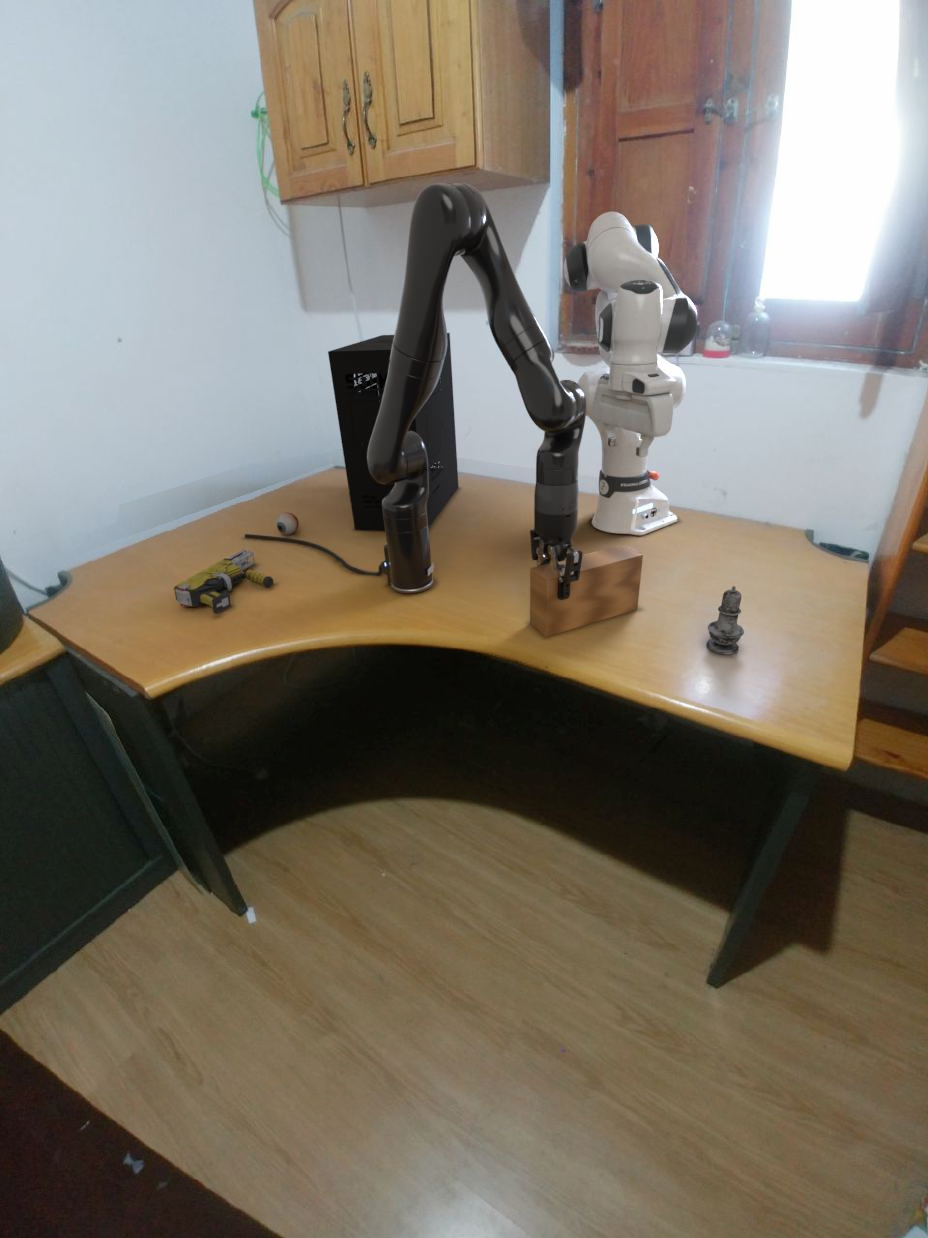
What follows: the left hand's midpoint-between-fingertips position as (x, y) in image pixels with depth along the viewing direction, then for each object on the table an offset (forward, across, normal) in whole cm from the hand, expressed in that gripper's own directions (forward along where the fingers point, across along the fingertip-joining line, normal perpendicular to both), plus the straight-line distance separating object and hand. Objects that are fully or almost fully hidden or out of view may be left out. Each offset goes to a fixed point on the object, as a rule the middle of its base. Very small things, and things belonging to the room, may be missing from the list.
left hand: (553, 591), depth 113 cm
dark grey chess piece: (+8, +21, +22) cm, 31 cm away
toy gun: (+7, -49, -53) cm, 73 cm away
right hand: (-19, -13, +25) cm, 34 cm away
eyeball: (+7, -77, -36) cm, 85 cm away
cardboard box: (+7, -79, 0) cm, 79 cm away
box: (+8, 0, +7) cm, 10 cm away
